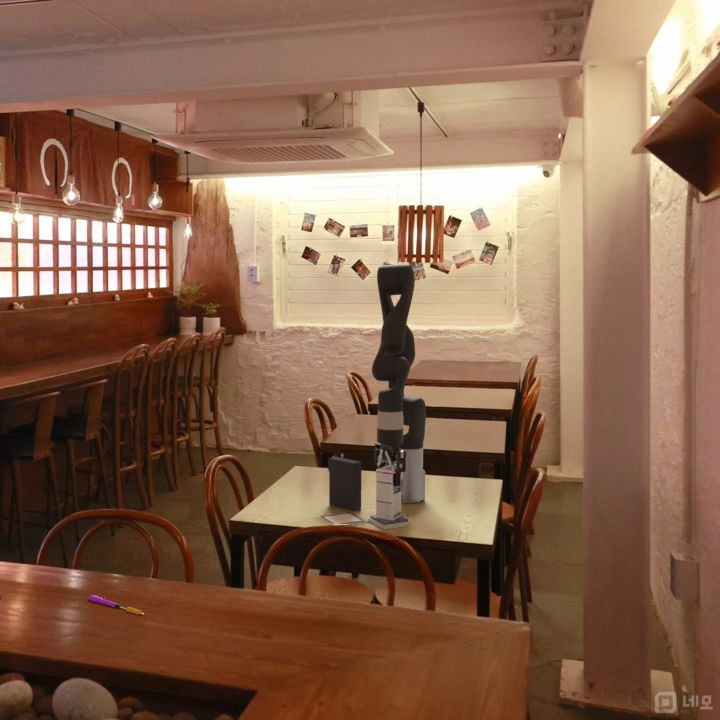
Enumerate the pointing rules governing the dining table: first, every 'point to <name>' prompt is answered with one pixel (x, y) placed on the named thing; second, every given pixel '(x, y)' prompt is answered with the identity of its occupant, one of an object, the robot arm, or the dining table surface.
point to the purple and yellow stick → (113, 604)
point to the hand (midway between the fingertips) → (389, 482)
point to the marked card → (342, 518)
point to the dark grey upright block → (344, 483)
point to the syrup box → (388, 495)
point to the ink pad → (389, 522)
